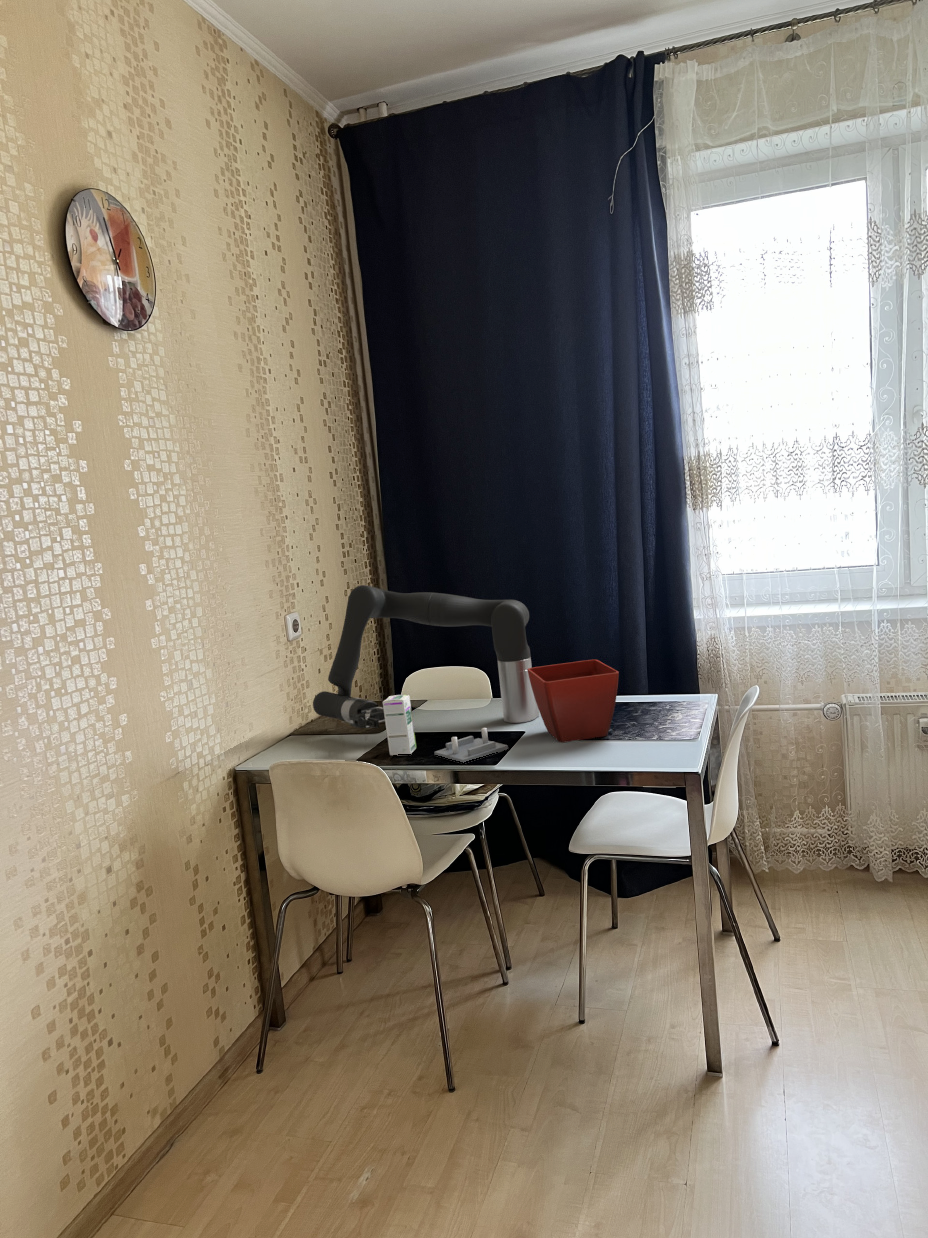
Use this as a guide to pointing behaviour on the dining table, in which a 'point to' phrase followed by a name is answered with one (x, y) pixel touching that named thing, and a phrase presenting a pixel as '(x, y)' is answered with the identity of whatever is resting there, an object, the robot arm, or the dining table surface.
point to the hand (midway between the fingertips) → (391, 720)
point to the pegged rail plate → (470, 748)
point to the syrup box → (399, 724)
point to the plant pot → (575, 698)
